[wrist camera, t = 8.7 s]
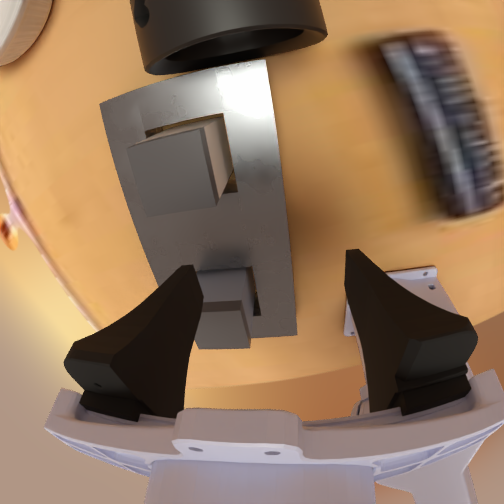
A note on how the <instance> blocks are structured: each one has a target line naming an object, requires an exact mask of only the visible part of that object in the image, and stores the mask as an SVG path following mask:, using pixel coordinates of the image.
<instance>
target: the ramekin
mask: <svg viewBox="0 0 504 504" xmlns="http://www.w3.org/2000/svg"><path fill="white" fill-rule="evenodd" d="M51 5H52V0H0V66H2V65H6V64H8V63H11V62H13V61H14V60H16V59H18V58H19V57H20V56H21V55H23V54H24V53H25V52H26V51H27V50H28V49H29V48H30V47H31V45H32V44H33V43H34V42H35V40H36V39H37V37H38V36H39V34H40V32H41V31H42V29H43V27H44V25H45V23H46V20H47V18H48V15H49V13H50V9H51Z"/></svg>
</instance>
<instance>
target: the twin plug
mask: <svg viewBox="0 0 504 504" xmlns="http://www.w3.org/2000/svg"><path fill="white" fill-rule="evenodd" d="M197 277H198V281H199V284H200V286H201V289H202V292H203V295H204V299H203V307H202V313H201V317H200V321H199V324H198V328H197V331H196V335H195V338H194V340H195V342H196V344H197V346H198V348H199V349H245V348H250V344H251V333H252V322H253V311H254V300H255V283H254V278H253V272H252V267H251V266H250V267H239V268H227V269H215V270H203V271H197Z"/></svg>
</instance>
